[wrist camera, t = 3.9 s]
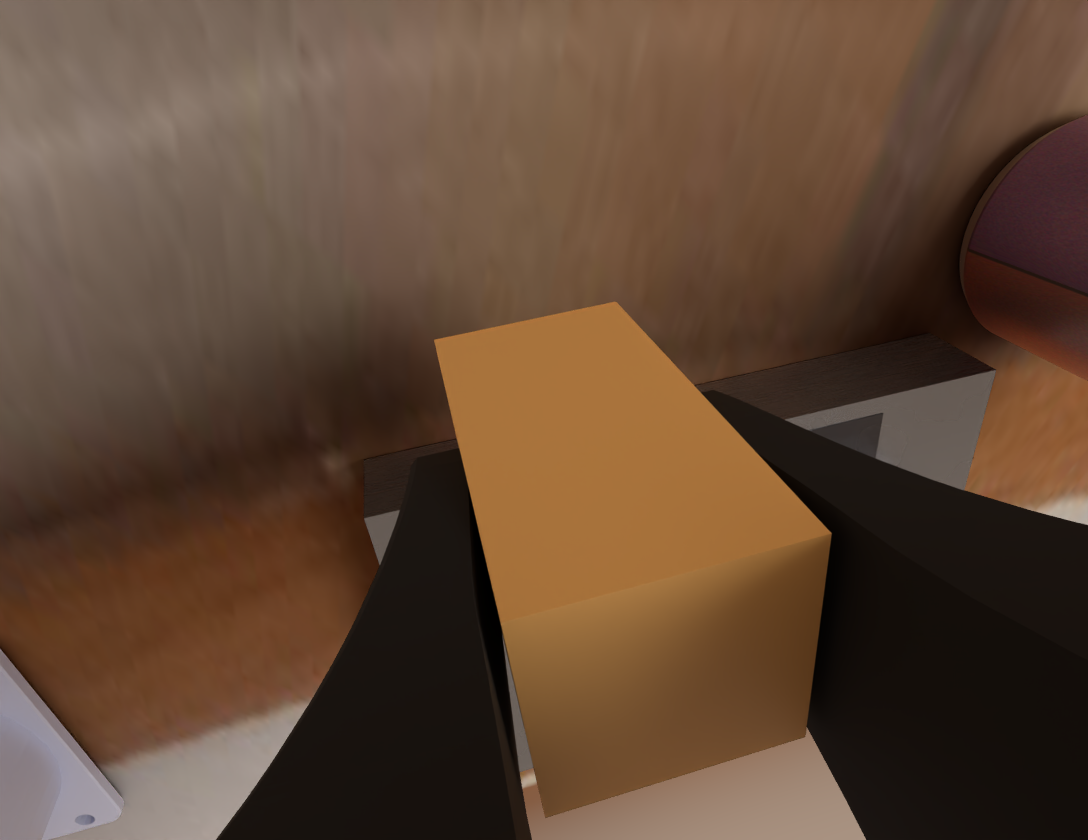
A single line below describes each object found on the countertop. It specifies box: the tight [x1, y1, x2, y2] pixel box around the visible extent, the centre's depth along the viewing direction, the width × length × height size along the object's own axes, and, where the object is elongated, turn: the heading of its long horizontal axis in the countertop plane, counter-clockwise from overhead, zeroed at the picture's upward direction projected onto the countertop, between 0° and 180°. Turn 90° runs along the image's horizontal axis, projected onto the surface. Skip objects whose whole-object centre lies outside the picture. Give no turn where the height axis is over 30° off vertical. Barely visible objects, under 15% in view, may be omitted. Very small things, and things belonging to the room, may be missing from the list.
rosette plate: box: [364, 333, 996, 772], centre depth 20 cm, size 16×11×2 cm
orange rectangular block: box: [434, 302, 832, 818], centre depth 9 cm, size 3×3×6 cm
